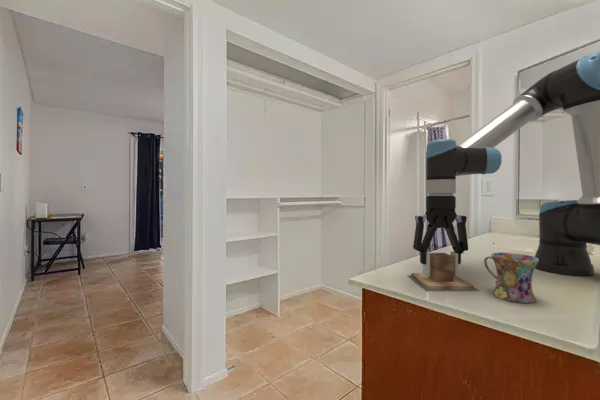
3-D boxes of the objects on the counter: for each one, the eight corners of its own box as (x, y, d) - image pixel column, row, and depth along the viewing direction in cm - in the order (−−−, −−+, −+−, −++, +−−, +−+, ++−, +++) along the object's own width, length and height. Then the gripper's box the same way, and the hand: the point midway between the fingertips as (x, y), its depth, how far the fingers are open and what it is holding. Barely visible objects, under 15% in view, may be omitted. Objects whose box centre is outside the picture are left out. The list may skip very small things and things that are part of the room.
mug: (547, 303, 67) (548, 258, 67) (522, 309, 63) (523, 262, 63) (495, 287, 78) (496, 249, 78) (472, 292, 74) (472, 252, 74)
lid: (450, 276, 87) (450, 250, 86) (473, 289, 75) (474, 259, 74) (411, 276, 87) (411, 250, 87) (428, 289, 75) (428, 259, 75)
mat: (451, 277, 88) (451, 275, 88) (480, 293, 74) (480, 290, 74) (406, 277, 88) (406, 275, 88) (426, 293, 74) (426, 291, 74)
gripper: (468, 194, 84) (467, 271, 84) (400, 195, 84) (400, 271, 85) (484, 194, 76) (484, 279, 77) (410, 195, 76) (409, 279, 77)
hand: (440, 275), depth 81 cm, fingers open, 7 cm apart
